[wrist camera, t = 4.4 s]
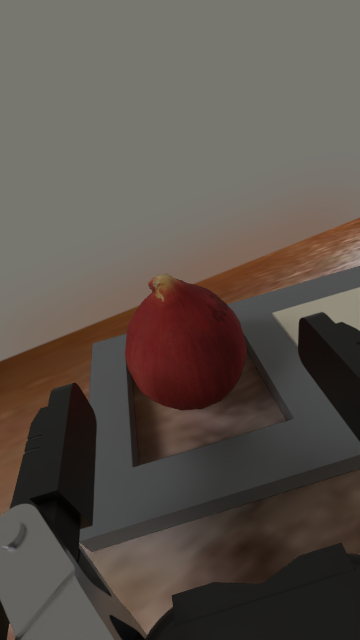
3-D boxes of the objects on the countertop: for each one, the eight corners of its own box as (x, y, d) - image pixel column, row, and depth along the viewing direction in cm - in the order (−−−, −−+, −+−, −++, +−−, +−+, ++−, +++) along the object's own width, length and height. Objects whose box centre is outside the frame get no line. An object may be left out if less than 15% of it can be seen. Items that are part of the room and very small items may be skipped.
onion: (194, 347, 21) (166, 235, 16) (271, 383, 17) (265, 251, 12) (129, 407, 18) (71, 292, 13) (205, 466, 14) (163, 337, 9)
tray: (91, 551, 12) (76, 539, 11) (99, 355, 22) (91, 341, 21) (551, 409, 13) (569, 387, 12) (361, 279, 23) (364, 262, 22)
